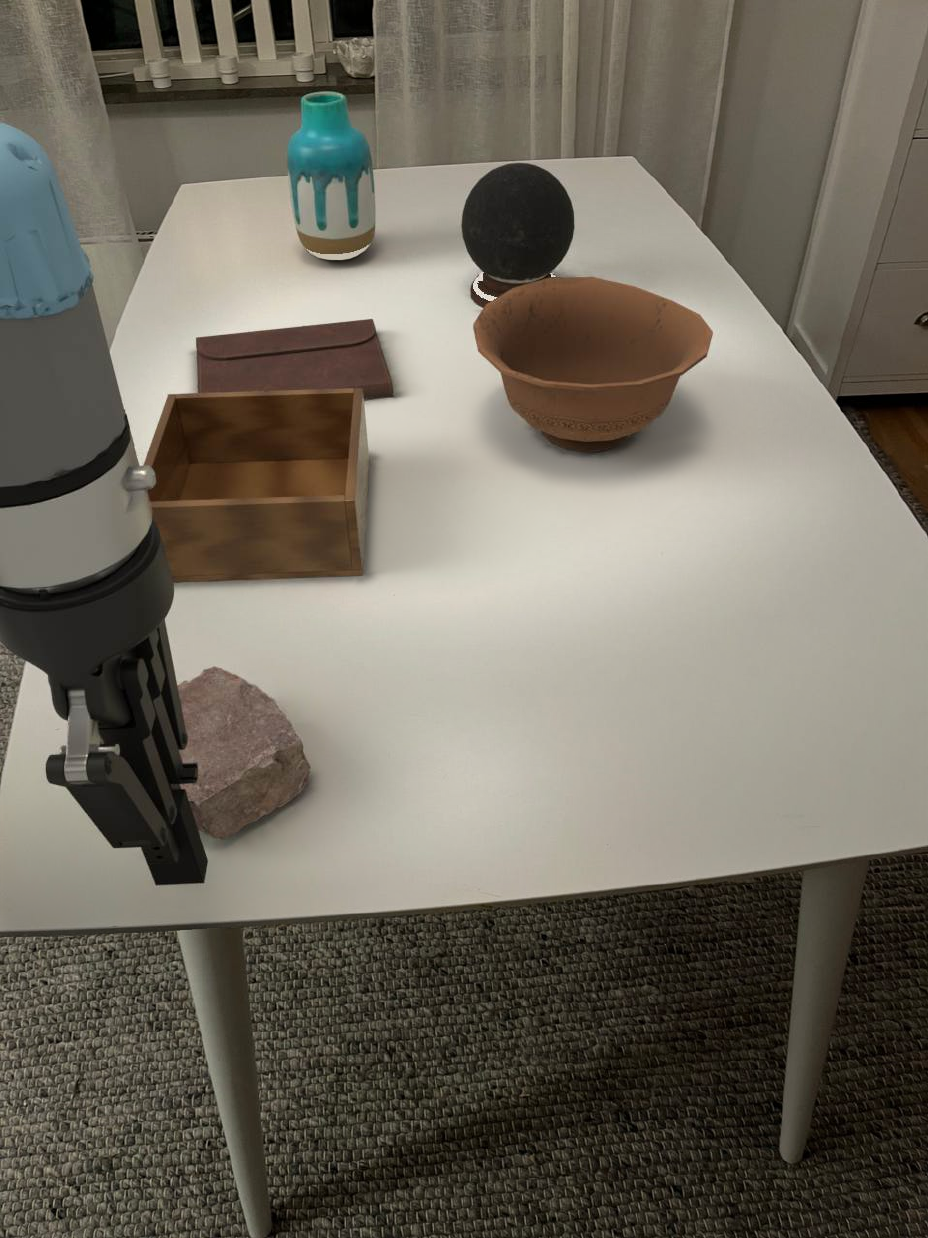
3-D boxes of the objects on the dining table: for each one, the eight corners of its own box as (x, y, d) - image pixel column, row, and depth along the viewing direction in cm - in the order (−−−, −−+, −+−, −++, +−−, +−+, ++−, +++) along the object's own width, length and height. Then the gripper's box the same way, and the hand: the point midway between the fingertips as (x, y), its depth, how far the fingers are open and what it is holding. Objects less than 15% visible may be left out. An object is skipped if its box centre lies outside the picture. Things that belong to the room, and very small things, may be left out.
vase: (291, 246, 136) (271, 89, 123) (368, 235, 138) (357, 81, 125) (306, 277, 128) (286, 114, 115) (387, 266, 131) (377, 104, 118)
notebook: (393, 397, 106) (392, 379, 104) (201, 419, 103) (197, 402, 102) (373, 332, 117) (372, 316, 115) (199, 351, 114) (195, 334, 113)
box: (149, 583, 84) (127, 508, 79) (184, 464, 97) (168, 393, 92) (362, 575, 84) (354, 500, 79) (369, 458, 97) (362, 387, 92)
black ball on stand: (451, 277, 128) (448, 152, 118) (552, 266, 130) (558, 142, 120) (476, 323, 118) (476, 191, 108) (584, 310, 120) (594, 179, 110)
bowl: (640, 360, 111) (651, 262, 104) (737, 467, 95) (758, 360, 88) (447, 392, 106) (444, 292, 99) (515, 510, 91) (518, 401, 83)
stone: (120, 749, 70) (104, 702, 67) (234, 690, 75) (224, 642, 72) (204, 859, 63) (190, 812, 60) (324, 787, 68) (317, 739, 65)
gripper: (121, 646, 37) (233, 977, 53) (182, 450, 46) (261, 779, 62) (-88, 654, 37) (88, 984, 52) (17, 456, 46) (138, 784, 62)
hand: (182, 872), depth 57 cm, fingers closed
